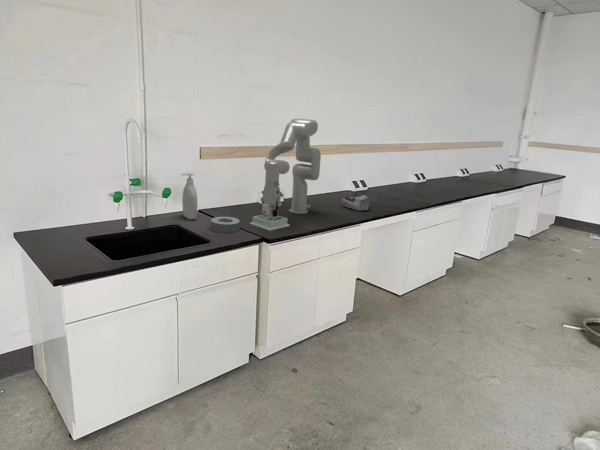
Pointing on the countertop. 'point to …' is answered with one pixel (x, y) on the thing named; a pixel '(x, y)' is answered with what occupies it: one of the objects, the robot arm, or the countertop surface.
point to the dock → (269, 223)
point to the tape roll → (225, 224)
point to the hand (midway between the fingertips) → (270, 214)
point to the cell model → (356, 202)
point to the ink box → (268, 212)
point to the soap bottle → (189, 198)
